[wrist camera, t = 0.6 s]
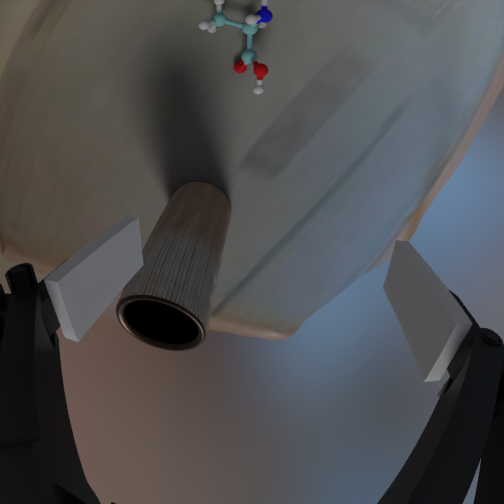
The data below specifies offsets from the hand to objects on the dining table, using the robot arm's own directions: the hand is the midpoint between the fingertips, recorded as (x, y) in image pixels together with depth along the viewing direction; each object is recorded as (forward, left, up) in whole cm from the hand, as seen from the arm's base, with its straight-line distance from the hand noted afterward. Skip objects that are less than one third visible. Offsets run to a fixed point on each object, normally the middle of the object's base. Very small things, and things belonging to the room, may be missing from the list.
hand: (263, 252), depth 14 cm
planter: (+10, -16, -28) cm, 33 cm away
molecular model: (-11, +2, -28) cm, 30 cm away
